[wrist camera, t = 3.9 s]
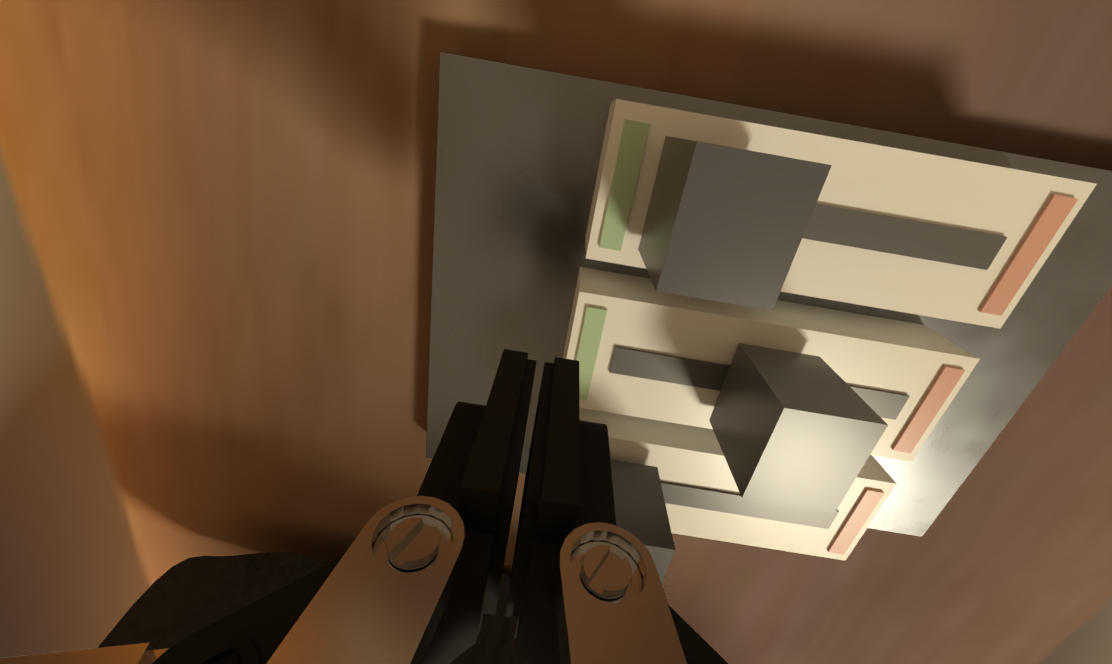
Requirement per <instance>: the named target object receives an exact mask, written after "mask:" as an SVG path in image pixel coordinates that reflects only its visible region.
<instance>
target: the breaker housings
mask: <svg viewBox="0 0 1112 664" xmlns="http://www.w3.org/2000/svg"><path fill="white" fill-rule="evenodd" d="M666 136H671V137H676V138H682V139H688V140H693V141H699V142H705V143H710V144H716V145H722V146H728V147H733V148H739V149H745V150H750V151H756V152H762V153H767V154H773V155H778V156H784V157H789V158H795V159H800V160H806V161H811V162H817V163H822V164H828V165H832V166H831V168H830V171H829V173H828V176H827V178H826V181H825V183H824V186H823V188H822V191H821V193H820V196H819V198H818V200H817V203H816V205H815V208H814V210H813V213H812V215H811V218H810V220H809V223H808V225H807V227H806V230H805V232H804V235H803V237H802V240H801V242H800V245H799V247H798V250H797V252H796V254H795V257H794V259H793V262H792V264H791V267H790V269H789V272H788V274H787V277H786V279H785V281H784V284H783V286H782V289H781V292H787V293H793V294H799V295H804V296H810V297H816V298H822V299H828V300H834V301H840V302H846V303H852V304H858V305H863V306H869V307H875V308H881V309H887V310H893V311H899V312H905V313H911V314H917V315H922V316H928V317H934V318H940V319H946V320H952V321H958V322H964V323H970V324H976V325H981V326H987V327H993V328H999V329H1001V327H1002V326H1003V324H1004V323H1005V321H1006V320H1007V318H1008V317H1009V315H1010V314H1011V312H1012V311H1013V309H1014V308H1015V306H1016V305H1017V303H1018V302H1019V300H1020V299H1021V297H1022V296H1023V294H1024V293H1025V291H1026V290H1027V288H1028V287H1029V285H1030V284H1031V282H1032V281H1033V279H1034V278H1035V276H1036V275H1037V273H1038V272H1039V270H1040V269H1041V267H1042V266H1043V264H1044V263H1045V261H1046V260H1047V258H1048V257H1049V255H1050V254H1051V252H1052V251H1053V249H1054V248H1055V246H1056V245H1057V243H1058V242H1059V240H1060V239H1061V237H1062V236H1063V234H1064V233H1065V231H1066V230H1067V228H1068V227H1069V225H1070V224H1071V222H1072V221H1073V219H1074V218H1075V216H1076V215H1077V213H1078V212H1079V210H1080V209H1081V207H1082V206H1083V204H1084V203H1085V201H1086V200H1087V198H1088V197H1089V195H1090V194H1091V192H1092V191H1093V189H1094V188H1095V186H1096V185H1097V184H1096V183H1090V182H1084V181H1079V180H1073V179H1067V178H1062V177H1056V176H1050V175H1045V174H1039V173H1033V172H1028V171H1022V170H1016V169H1011V168H1005V167H999V166H994V165H988V164H982V163H977V162H971V161H965V160H960V159H954V158H948V157H943V156H937V155H932V154H926V153H920V152H915V151H909V150H903V149H898V148H892V147H886V146H881V145H875V144H869V143H864V142H858V141H852V140H847V139H841V138H835V137H830V136H824V135H818V134H813V133H807V132H801V131H796V130H790V129H784V128H779V127H773V126H767V125H762V124H756V123H750V122H745V121H739V120H733V119H728V118H722V117H716V116H711V115H705V114H699V113H694V112H688V111H682V110H677V109H671V108H665V107H660V106H654V105H648V104H643V103H637V102H631V101H626V100H620V99H615V100H614V101H612V102H611V104H610V109H609V115H608V120H607V125H606V131H605V136H604V141H603V146H602V152H601V157H600V162H599V168H598V173H597V178H596V184H595V189H594V194H593V200H592V205H591V210H590V215H589V221H588V226H587V231H586V237H585V248H586V259H592V260H598V261H604V262H610V263H616V264H622V265H627V266H633V267H639V268H645V269H646V267H645V264H644V262H643V260H642V257H641V255H640V253H639V250H638V247H639V243H640V239H641V235H642V231H643V227H644V223H645V219H646V215H647V211H648V206H649V202H650V198H651V194H652V190H653V186H654V182H655V178H656V174H657V170H658V165H659V161H660V157H661V153H662V149H663V145H664V141H665V137H666ZM739 343H742V344H748V345H754V346H760V347H766V348H772V349H778V350H784V351H790V352H796V353H802V354H808V355H814V356H820V357H821V358H822V359H823V360H824V361H825V362H826V363H827V364H828V365H829V366H830V367H831V368H832V369H833V370H834V371H835V372H836V373H837V374H838V375H839V376H840V377H841V378H842V379H843V380H844V381H845V382H846V383H847V384H848V385H849V386H850V387H851V388H852V389H853V390H854V391H855V392H856V393H857V394H858V395H859V396H860V397H861V398H862V399H863V400H864V401H865V402H866V403H867V404H868V405H869V406H870V407H871V408H872V409H873V410H874V411H875V412H876V413H877V414H878V415H879V416H880V417H881V418H882V419H883V420H884V421H885V422H886V423H887V424H888V426H887V428H886V429H885V431H884V433H883V434H882V436H881V438H880V439H879V441H878V443H877V444H876V446H875V448H874V449H873V451H872V452H871V454H870V456H869V457H868V459H867V461H866V462H865V464H864V466H863V467H862V469H861V471H860V472H859V474H858V475H857V477H856V479H855V480H854V482H853V484H852V485H851V487H850V489H849V490H848V492H847V494H846V495H845V497H844V498H843V500H842V502H841V503H840V505H839V507H838V508H837V510H836V512H835V513H832V512H826V511H819V510H813V509H807V508H801V507H795V506H788V505H782V504H776V503H770V502H763V501H757V500H751V499H745V498H742V497H741V495H740V492H739V490H738V488H737V485H736V483H735V480H734V478H733V476H732V473H731V471H730V469H729V466H728V464H727V461H726V459H725V457H724V454H723V452H722V450H721V447H720V445H719V442H718V440H717V438H716V435H715V433H714V431H713V428H712V426H711V423H710V421H709V419H710V417H711V414H712V412H713V409H714V406H715V404H716V401H717V399H718V396H719V393H720V391H721V388H722V386H723V383H724V380H725V378H726V375H727V373H728V370H729V367H730V365H731V362H732V360H733V357H734V354H735V352H736V349H737V346H738V344H739ZM563 358H565V359H571V360H577V361H579V420H582V421H588V422H594V423H601V424H606V425H607V429H608V437H609V448H610V459H611V460H617V461H623V462H629V463H636V464H642V465H648V466H654V467H658V472H659V477H660V481H661V486H662V491H663V495H664V500H665V505H666V509H667V514H668V519H669V523H670V528H671V533H675V534H681V535H687V536H694V537H700V538H706V539H713V540H719V541H725V542H732V543H738V544H744V545H750V546H757V547H763V548H769V549H776V550H782V551H788V552H795V553H801V554H807V555H814V556H820V557H826V558H833V559H839V560H845V561H846V559H847V558H848V556H849V555H850V553H851V552H852V550H853V549H854V547H855V546H856V544H857V543H858V541H859V540H860V538H861V537H862V535H863V534H864V532H865V531H866V529H867V528H868V526H869V525H870V523H871V522H872V520H873V519H874V517H875V516H876V514H877V513H878V511H879V510H880V508H881V507H882V505H883V504H884V502H885V501H886V499H887V498H888V496H889V495H890V493H891V492H892V490H893V489H894V487H895V486H896V484H897V483H896V482H895V481H894V480H893V479H892V478H891V476H890V475H889V474H888V473H887V472H886V471H885V470H884V468H883V467H882V466H881V465H880V464H879V463H878V461H877V460H876V459H875V458H874V457H873V456H879V457H885V458H892V459H898V460H904V461H910V462H912V460H913V459H914V457H915V456H916V454H917V453H918V451H919V450H920V448H921V447H922V445H923V444H924V442H925V441H926V439H927V438H928V436H929V435H930V433H931V432H932V430H933V429H934V427H935V426H936V424H937V423H938V421H939V420H940V418H941V417H942V415H943V414H944V412H945V411H946V409H947V408H948V406H949V405H950V403H951V402H952V400H953V399H954V397H955V396H956V394H957V393H958V391H959V390H960V388H961V387H962V385H963V384H964V382H965V381H966V379H967V378H968V376H969V375H970V373H971V372H972V370H973V369H974V367H975V366H976V364H977V363H978V361H979V360H980V358H978V357H976V356H975V355H973V354H971V353H970V352H968V351H966V350H965V349H963V348H961V347H960V346H958V345H956V344H955V343H953V342H951V341H950V340H948V339H946V338H945V337H943V336H941V335H940V334H938V333H936V332H935V331H933V330H931V329H930V328H928V327H926V326H925V325H921V324H916V323H910V322H904V321H898V320H892V319H886V318H880V317H874V316H868V315H862V314H856V313H851V312H845V311H839V310H833V309H827V308H821V307H815V306H809V305H803V304H797V303H791V302H785V301H780V300H777V301H776V304H775V306H774V309H773V311H771V310H765V309H759V308H753V307H747V306H741V305H735V304H729V303H723V302H717V301H711V300H705V299H699V298H693V297H688V296H682V295H676V294H670V293H664V292H658V291H656V290H655V288H654V285H653V283H652V281H651V279H649V278H644V277H638V276H632V275H626V274H620V273H614V272H608V271H602V270H596V269H590V268H584V267H580V269H579V274H578V279H577V285H576V290H575V295H574V300H573V306H572V311H571V316H570V322H569V327H568V332H567V338H566V343H565V348H564V354H563ZM872 455H873V456H872Z"/></svg>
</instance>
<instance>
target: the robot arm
mask: <svg viewBox="0 0 1112 664" xmlns="http://www.w3.org/2000/svg"><path fill="white" fill-rule="evenodd" d="M536 363H537V360H530V359H528V353H527V352H521V351H515V350H509V349H504V350H503V353H502V357H501V360H500V363H499V366H498V369H497V372H496V376H495V379H494V382H493V385H492V388H491V392H490V395H489V398H488V401H487V404H486V406H485V405H479V404H473V403H466V402H460V401H458V402H457V403H456V405H455V407H454V409H453V412H452V414H451V416H450V419H449V421H448V424H447V426H446V428H445V431H444V433H443V435H442V438H441V440H440V443H439V445H438V447H437V450H436V452H435V455H434V457H433V459H432V462H431V464H430V466H429V469H428V471H427V474H426V476H425V478H424V481H423V483H422V485H421V488H420V490H419V493H418V495H417V496H413V497H405V498H403V499H400V500H397V501H394V502H391V503H390V504H388V505H386V506H385V507H383V508H382V509H380V510H378V511H377V512H376V513H375V515H374V516H373V517H372V518H371V519H370V520H369V521H368V522H367V523H366V525H365V526H364V528H363V529H362V530H361V532H360V533H359V535H358V536H357V537H356V539H355V540H354V542H353V543H352V544H351V546H350V547H349V549H348V550H347V551H346V553H345V554H344V556H343V557H341V558H339V559H337V560H335V561H333V562H331V563H329V564H327V565H325V566H324V567H322V568H320V569H318V570H316V571H314V572H312V573H310V574H308V575H306V576H304V577H302V578H300V579H298V580H296V581H294V582H292V583H290V584H288V585H287V586H285V587H283V588H281V589H279V590H277V591H275V592H273V593H271V594H269V595H267V596H265V597H263V598H261V599H259V600H257V601H255V602H253V603H251V604H249V605H248V606H246V607H244V608H242V609H240V610H238V611H236V612H234V613H232V614H230V615H228V616H226V617H224V618H222V619H220V620H218V621H216V622H214V623H212V624H210V625H209V626H207V627H205V628H203V629H201V630H199V631H197V632H195V633H193V634H191V635H189V636H188V637H186V638H185V639H183V640H181V641H180V642H178V643H177V644H175V645H173V646H172V647H170V648H167V649H158V650H153V649H152V647H151V645H150V643H141V644H131V645H121V646H112V647H102V648H93V649H83V650H74V651H64V652H54V653H46V654H35V655H26V656H16V657H6V658H0V664H452V662H453V660H454V659H456V658H457V657H458V656H459V655H461V654H462V653H463V652H465V651H466V650H467V649H468V648H470V647H471V646H472V645H474V644H475V643H476V641H477V636H478V633H479V634H480V629H481V624H482V619H483V614H484V613H485V614H492V615H495V613H496V608H497V602H498V596H499V590H500V584H501V578H502V572H503V565H504V559H505V553H506V547H507V541H508V535H509V529H510V523H511V517H512V511H513V505H514V499H515V493H516V487H517V481H518V475H519V469H520V463H521V457H522V451H523V445H524V438H525V432H526V426H527V419H528V413H529V407H530V401H531V394H532V388H533V382H534V375H535V369H536ZM505 616H506V617H513V618H517V619H516V627H515V635H514V639H516V646H515V648H516V650H517V651H518V653H519V654H520V655H521V657H522V658H523V660H524V661H525V663H526V664H728V663H727V662H726V661H725V660H724V659H723V658H722V657H721V656H720V655H719V654H718V653H717V652H716V651H715V650H714V649H713V648H712V647H711V646H710V645H709V644H708V643H707V642H706V641H704V640H703V639H702V638H701V637H700V636H699V635H698V634H697V633H696V632H695V631H694V630H693V629H692V628H691V627H690V626H689V625H688V624H687V623H686V622H685V621H684V620H683V619H682V618H681V617H680V616H679V615H678V614H677V613H676V612H675V611H674V610H673V609H672V608H671V607H670V606H669V605H668V603H667V599H666V596H665V593H664V590H663V587H662V584H661V581H660V578H659V574H658V571H657V568H656V565H655V563H654V561H653V559H652V557H651V554H650V552H649V551H648V549H647V548H646V547H645V546H644V545H643V543H642V542H641V541H640V540H639V539H638V538H637V537H635V536H634V535H633V534H631V533H630V532H629V531H627V530H625V529H623V528H620V527H618V526H616V516H615V505H614V493H613V482H612V471H611V460H610V448H609V437H608V429H607V425H606V424H601V423H594V422H588V421H582V420H579V361H577V360H571V359H565V358H559V357H555V359H554V363H549V362H544V368H543V374H542V380H541V386H540V392H539V398H538V404H537V410H536V416H535V421H534V427H533V433H532V439H531V445H530V451H529V457H528V463H527V470H526V477H525V484H524V490H523V497H522V504H521V511H520V518H519V525H518V531H517V538H516V545H515V552H514V559H513V565H512V572H511V579H510V586H509V593H508V599H507V606H506V613H505Z"/></svg>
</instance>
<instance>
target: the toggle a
mask: <svg viewBox="0 0 1112 664" xmlns="http://www.w3.org/2000/svg"><path fill="white" fill-rule="evenodd" d="M610 460H611V459H610ZM611 471H612V482H613V493H614V505H615V516H616V526H618V527H620V528H623V529H625V530H627V531H629V532H630V533H631V534H633V535H634V536H635V537H637V538H638V539H639V540H640V541H641V542H642V543H643V545H644V546H645V547H646V548H647V549H648V551H649V552H650V554H651V557H652V559H653V561H654V563H655V565H656V568H657V571H658V574H659V578H660V581H661V584H662V581H663V579H664V576H665V574H666V571H667V569H668V566H669V564H670V562H671V559H672V557H673V554H674V552H675V547H674V542H673V537H672V533H671V528H670V523H669V519H668V514H667V509H666V505H665V500H664V495H663V491H662V486H661V481H660V477H659V472H658V467H654V466H648V465H642V464H636V463H629V462H623V461H617V460H611Z"/></svg>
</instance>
